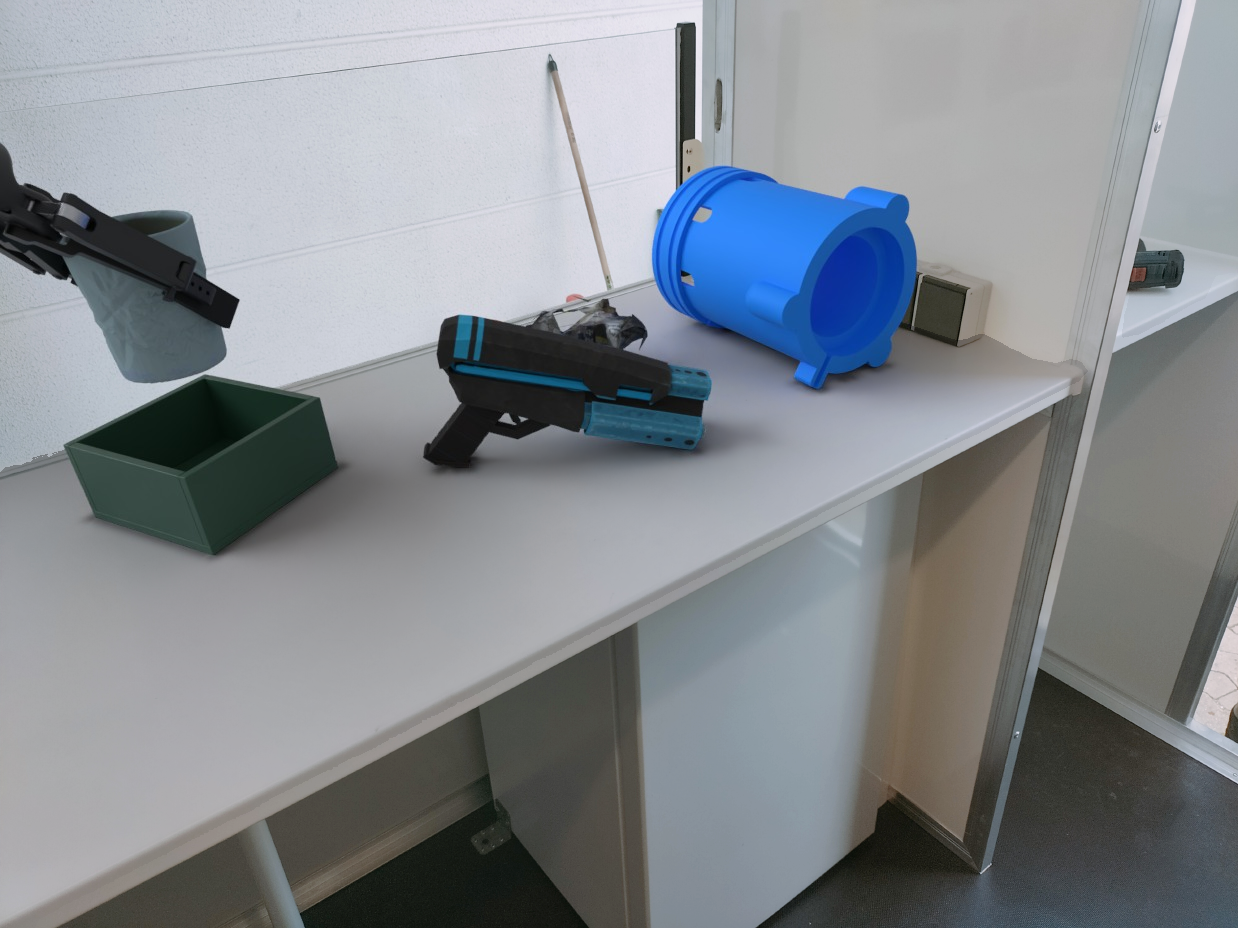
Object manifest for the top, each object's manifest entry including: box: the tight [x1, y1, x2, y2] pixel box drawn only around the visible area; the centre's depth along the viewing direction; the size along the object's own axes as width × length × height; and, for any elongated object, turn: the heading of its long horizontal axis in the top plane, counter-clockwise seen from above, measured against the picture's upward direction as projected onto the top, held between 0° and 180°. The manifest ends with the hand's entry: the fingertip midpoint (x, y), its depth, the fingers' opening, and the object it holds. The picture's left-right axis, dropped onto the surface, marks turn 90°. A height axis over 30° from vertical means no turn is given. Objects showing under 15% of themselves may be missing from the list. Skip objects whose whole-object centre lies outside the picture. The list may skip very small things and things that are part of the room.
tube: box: [651, 165, 918, 390], centre depth 100 cm, size 25×22×19 cm
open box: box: [62, 373, 339, 556], centre depth 80 cm, size 16×16×8 cm
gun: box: [422, 314, 713, 468], centre depth 83 cm, size 8×26×15 cm, turn 97°
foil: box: [524, 295, 649, 351], centre depth 99 cm, size 12×11×15 cm
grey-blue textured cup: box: [59, 209, 228, 385], centre depth 71 cm, size 10×10×12 cm
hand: (186, 308), depth 75 cm, fingers closed on grey-blue textured cup, 10 cm apart
